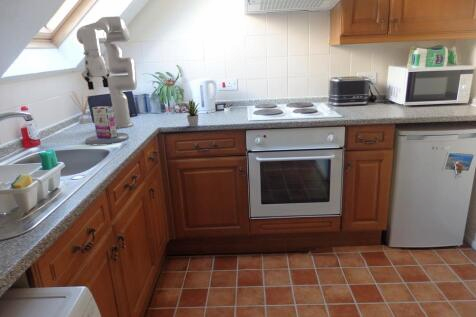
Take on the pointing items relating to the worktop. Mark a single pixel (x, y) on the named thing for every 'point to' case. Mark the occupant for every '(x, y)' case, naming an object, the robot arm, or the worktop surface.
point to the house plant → (192, 113)
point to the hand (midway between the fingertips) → (98, 88)
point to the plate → (107, 139)
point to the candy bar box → (104, 122)
